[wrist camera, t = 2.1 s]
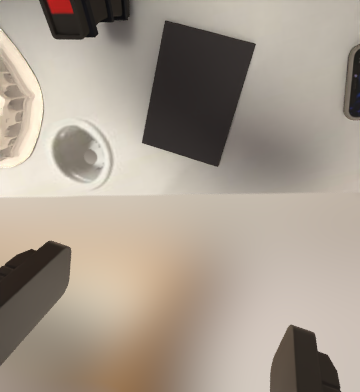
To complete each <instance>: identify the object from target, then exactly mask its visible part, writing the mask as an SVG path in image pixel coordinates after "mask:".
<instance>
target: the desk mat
mask: <svg viewBox="0 0 360 392" xmlns="http://www.w3.org/2000/svg"><path fill="white" fill-rule="evenodd" d="M255 45H256V44H254V43H250V42H246V41H242V40H239V39H235V38H231V37H227V36H223V35H219V34H216V33H212V32H208V31H204V30H200V29H196V28H193V27H189V26H185V25H181V24H177V23H173V22H169V21H165V24H164V30H163V35H162V40H161V45H160V51H159V56H158V61H157V66H156V72H155V77H154V82H153V87H152V93H151V98H150V103H149V109H148V114H147V119H146V124H145V130H144V135H143V140H142V143H144V144H147V145H150V146H154V147H157V148H160V149H163V150H166V151H169V152H173V153H176V154H179V155H182V156H185V157H188V158H192V159H195V160H198V161H201V162H204V163H207V164H210V165H214V166H217V167H218V165H219V162H220V159H221V155H222V152H223V149H224V146H225V142H226V139H227V136H228V133H229V129H230V126H231V123H232V120H233V116H234V113H235V110H236V107H237V103H238V100H239V97H240V93H241V90H242V87H243V84H244V80H245V77H246V74H247V71H248V67H249V64H250V61H251V58H252V54H253V51H254V48H255Z"/></svg>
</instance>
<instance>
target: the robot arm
mask: <svg viewBox="0 0 360 392" xmlns="http://www.w3.org/2000/svg"><path fill="white" fill-rule="evenodd" d="M70 261H71V248H70V247H68V246H65V245H62V244H60V243H57V242H54V241H48V242H47V243H45V244H44V245H43V246H42V247H41V248H39V249H38V250H37V251H36V250H33V249H30V250H28V251H25V252H23V253H20V254H18V255H16V256H15V257H13V258H12V259H11V260H10V261H8V262H7V263H6V264H5V266H2V267H1V268H0V366H1V364H2V363H3V362H4V361H5V360H6V359H7V358H8V357H9V355H10V354H11V353H12V352H13V351H14V350H15V349H16V347H17V346H18V345H19V344H20V343H21V342H22V341H23V340H24V338H25V337H26V336H27V335H28V334H29V333H30V331H32V329H33V328H34V327H35V326H36V325H37V324H38V322H39V321H40V320H41V319H42V318H43V317H44V315H46V314H47V312H48V311H49V310H50V309H51V308H52V307H53V306H54V304H55V303H56V302H57V301H58V300H59V299H60V298H61V296H62V295H63V294H64V292H65V290H66V288H67V286H68V282H69V275H70ZM270 392H341V391H340V384H339V379H338V373H337V370H336V369H335V367H334V365H333V363H332V362H331V360H330V358H329V357H328V355H326V354H323V353H320V352H318V351H317V343H316V337H315V334H314V333H313V332H311V331H308V330H305V329H302V328H299V327H296V326H294V325H290V326H289V327H288V328H287V331H286V333H285V335H284V337H283V339H282V341H281V343H280V345H279V347H278V350H277V352H276V354H275V356H274V358H273V362H272V366H271V373H270Z"/></svg>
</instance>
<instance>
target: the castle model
mask: <svg viewBox="0 0 360 392" xmlns="http://www.w3.org/2000/svg"><path fill="white" fill-rule="evenodd" d="M42 116H43V99H42V94H41V90H40V87H39V84H38V81H37V79H36V77H35V75H34V74H33V72H32V70H31V69H30V67H29V65H28V64H27V62H26V61H25V59H24V58H23V56H22V55H21V53H20V52H19V51H18V49H17V48H16V47H15V46H14V44H13V43H12V42H11V40H10V39H9V38H8V37H7V35H6V34H5V33H4V32H3V31H2V30H1V29H0V168H7V167H13V166H16V165H18V164H20V163H22V162H23V161H25V160H26V159H27V158H28V157H29V155H30V154H31V152H32V150H33V148H34V146H35V143H36V140H37V138H38V134H39V131H40V126H41V121H42Z"/></svg>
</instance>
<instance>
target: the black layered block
mask: <svg viewBox="0 0 360 392" xmlns="http://www.w3.org/2000/svg"><path fill="white" fill-rule="evenodd" d="M39 1H40V4H41V7H42V9H43V12H44V15H45V17H46V20H47V23H48V25H49V28H50V31H51V33H52V36H53V37H54V38H55V39H76V40H82V39H84V38H85V37H96V36H97V35H98V30H97V27H96V25H97V24H98V23H99V22H114V20H128V17H129V15H130V14H129V0H39Z"/></svg>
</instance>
